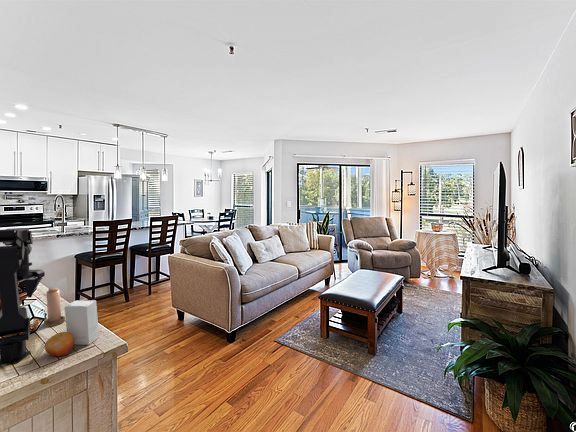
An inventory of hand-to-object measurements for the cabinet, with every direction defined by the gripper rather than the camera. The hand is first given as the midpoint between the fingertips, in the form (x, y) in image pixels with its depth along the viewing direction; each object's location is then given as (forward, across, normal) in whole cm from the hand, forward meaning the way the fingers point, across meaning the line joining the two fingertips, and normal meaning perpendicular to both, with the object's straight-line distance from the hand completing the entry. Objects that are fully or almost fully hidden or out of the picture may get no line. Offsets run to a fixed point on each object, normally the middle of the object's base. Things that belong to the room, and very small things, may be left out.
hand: (20, 301), depth 111 cm
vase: (+12, -10, +6) cm, 17 cm away
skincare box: (+13, +7, +25) cm, 29 cm away
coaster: (+13, -10, +6) cm, 17 cm away
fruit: (+13, +15, +22) cm, 30 cm away
